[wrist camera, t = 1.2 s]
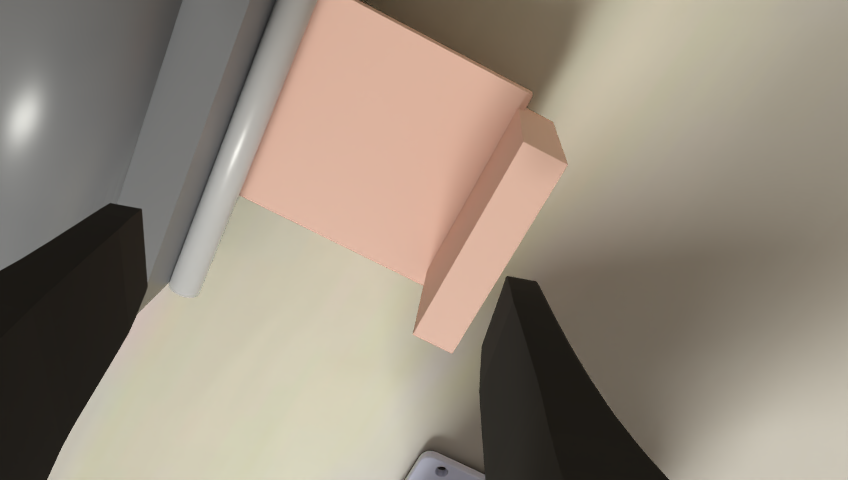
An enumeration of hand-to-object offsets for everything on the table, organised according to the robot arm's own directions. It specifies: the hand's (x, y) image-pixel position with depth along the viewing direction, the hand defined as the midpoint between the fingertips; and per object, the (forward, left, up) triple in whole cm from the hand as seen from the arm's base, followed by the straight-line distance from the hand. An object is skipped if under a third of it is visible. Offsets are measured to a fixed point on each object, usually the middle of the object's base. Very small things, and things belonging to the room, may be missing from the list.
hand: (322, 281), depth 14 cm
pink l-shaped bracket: (+3, -1, -8) cm, 9 cm away
